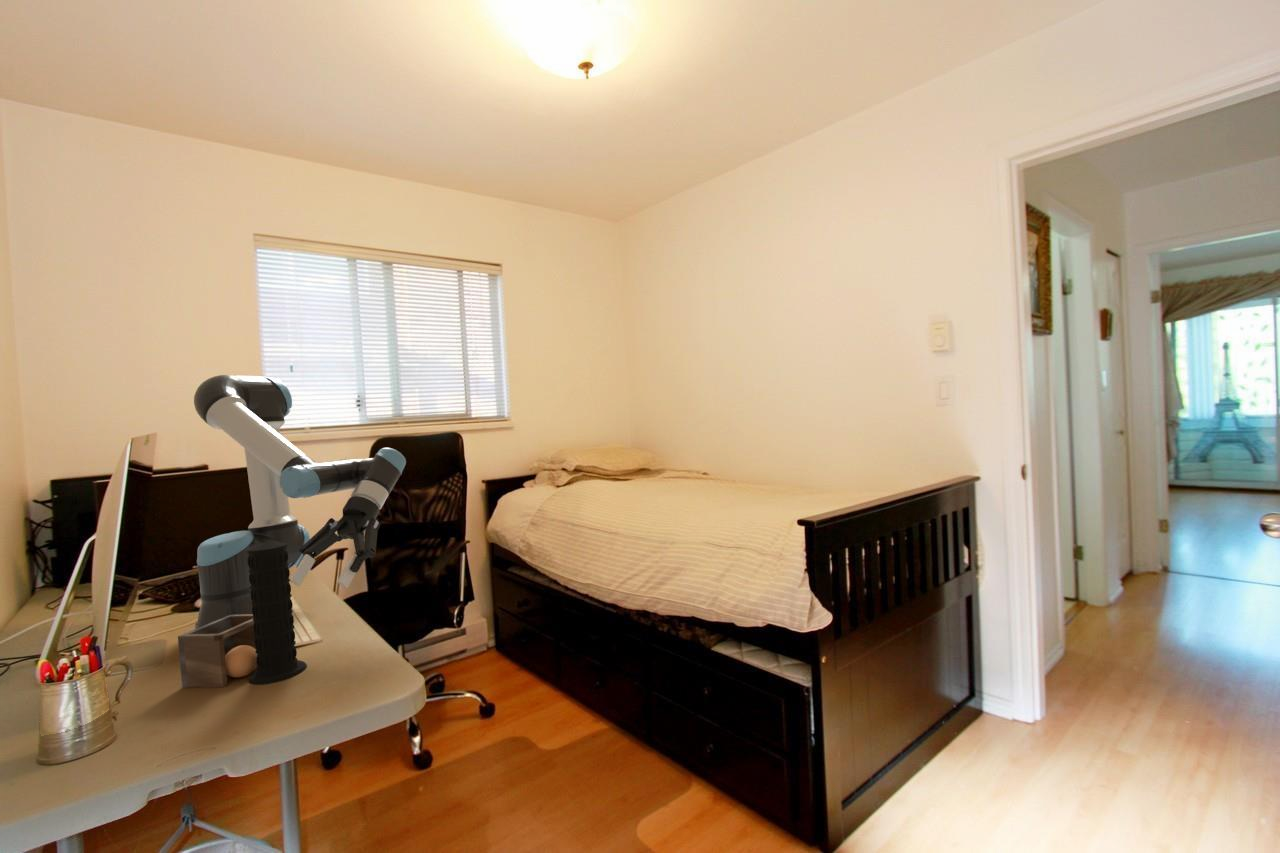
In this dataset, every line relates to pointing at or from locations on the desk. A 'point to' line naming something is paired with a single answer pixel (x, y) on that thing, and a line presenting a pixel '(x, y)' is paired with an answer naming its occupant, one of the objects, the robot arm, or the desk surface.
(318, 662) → the desk surface
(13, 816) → the desk surface
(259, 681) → the handle grip
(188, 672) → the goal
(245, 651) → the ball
